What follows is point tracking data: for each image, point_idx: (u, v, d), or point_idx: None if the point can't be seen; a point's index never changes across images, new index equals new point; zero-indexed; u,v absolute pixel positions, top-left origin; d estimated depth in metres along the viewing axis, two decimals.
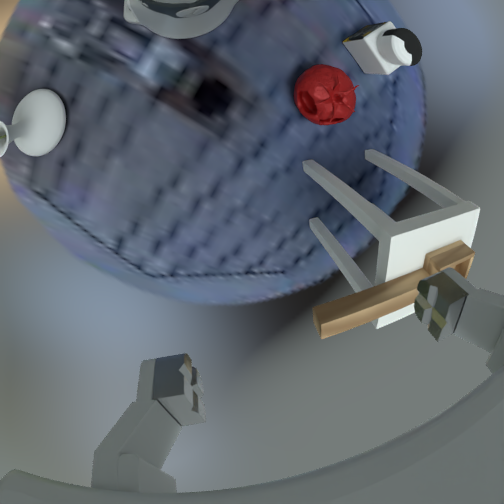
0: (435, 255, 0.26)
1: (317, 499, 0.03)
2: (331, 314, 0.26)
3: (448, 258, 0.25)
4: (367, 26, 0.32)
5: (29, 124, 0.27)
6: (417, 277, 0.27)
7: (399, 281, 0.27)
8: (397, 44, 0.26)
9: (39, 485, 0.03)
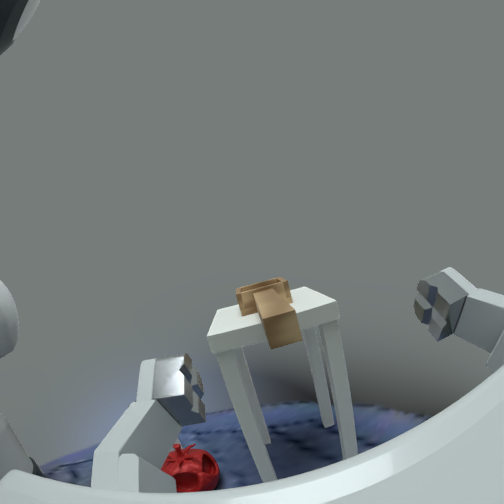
0: None
1: (317, 499, 0.03)
2: (263, 324, 0.21)
3: None
4: None
5: None
6: None
7: None
8: None
9: (39, 484, 0.03)
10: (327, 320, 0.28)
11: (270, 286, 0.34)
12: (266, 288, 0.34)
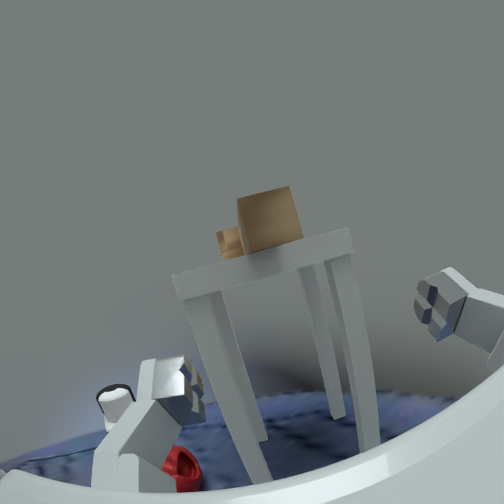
0: None
1: (317, 499, 0.03)
2: (241, 219, 0.14)
3: None
4: None
5: None
6: (241, 243, 0.25)
7: (243, 247, 0.22)
8: (105, 396, 0.32)
9: (39, 484, 0.03)
10: (337, 253, 0.21)
11: None
12: None
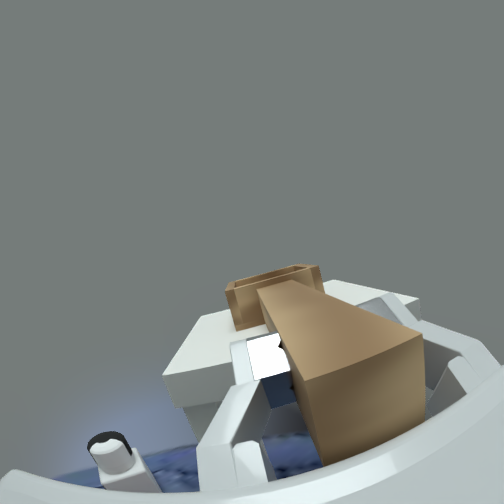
0: None
1: (317, 499, 0.03)
2: (297, 383, 0.06)
3: None
4: None
5: None
6: (263, 313, 0.17)
7: (269, 330, 0.14)
8: (96, 448, 0.25)
9: (39, 484, 0.03)
10: None
11: (288, 276, 0.18)
12: (280, 280, 0.18)
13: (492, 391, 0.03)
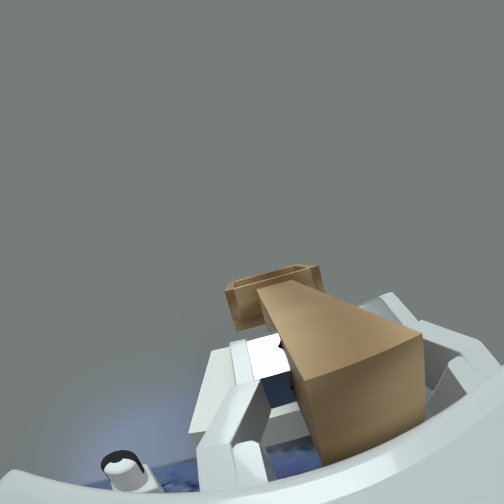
0: None
1: (317, 499, 0.03)
2: (297, 383, 0.06)
3: None
4: None
5: None
6: (263, 313, 0.17)
7: (269, 330, 0.14)
8: (111, 468, 0.25)
9: (39, 484, 0.03)
10: None
11: (288, 276, 0.18)
12: (280, 280, 0.18)
13: (492, 391, 0.03)
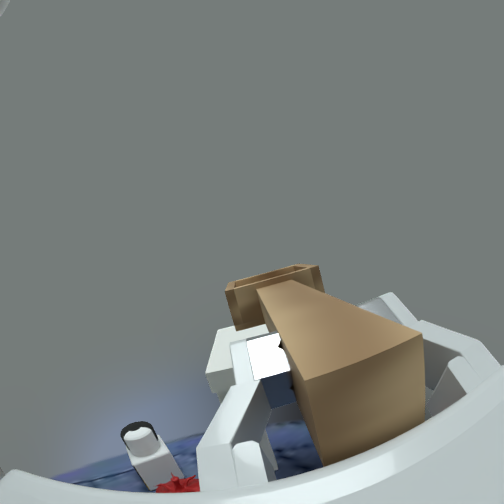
0: None
1: (317, 499, 0.03)
2: (297, 383, 0.06)
3: None
4: None
5: None
6: (263, 313, 0.17)
7: (269, 330, 0.14)
8: (130, 435, 0.34)
9: (39, 485, 0.03)
10: None
11: (288, 276, 0.18)
12: (280, 280, 0.18)
13: (492, 391, 0.03)
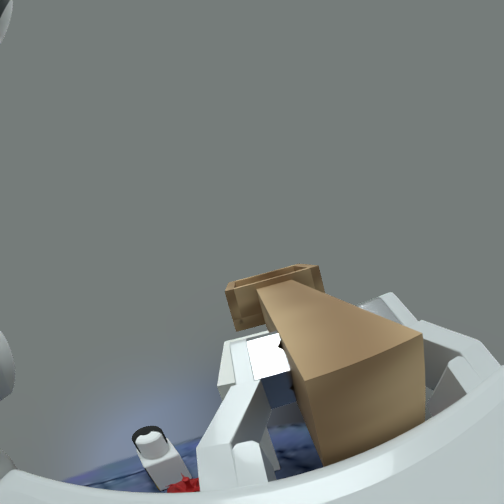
0: None
1: (317, 499, 0.03)
2: (297, 383, 0.06)
3: None
4: None
5: None
6: (263, 313, 0.17)
7: (269, 330, 0.14)
8: (141, 439, 0.37)
9: (39, 484, 0.03)
10: None
11: (288, 276, 0.18)
12: (280, 280, 0.18)
13: (492, 391, 0.03)
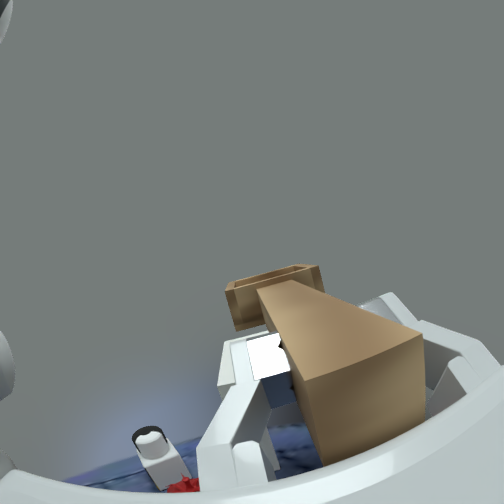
0: None
1: (317, 499, 0.03)
2: (297, 383, 0.06)
3: None
4: None
5: None
6: (263, 313, 0.17)
7: (269, 330, 0.14)
8: (141, 439, 0.37)
9: (39, 484, 0.03)
10: None
11: (288, 276, 0.18)
12: (280, 280, 0.18)
13: (492, 391, 0.03)
